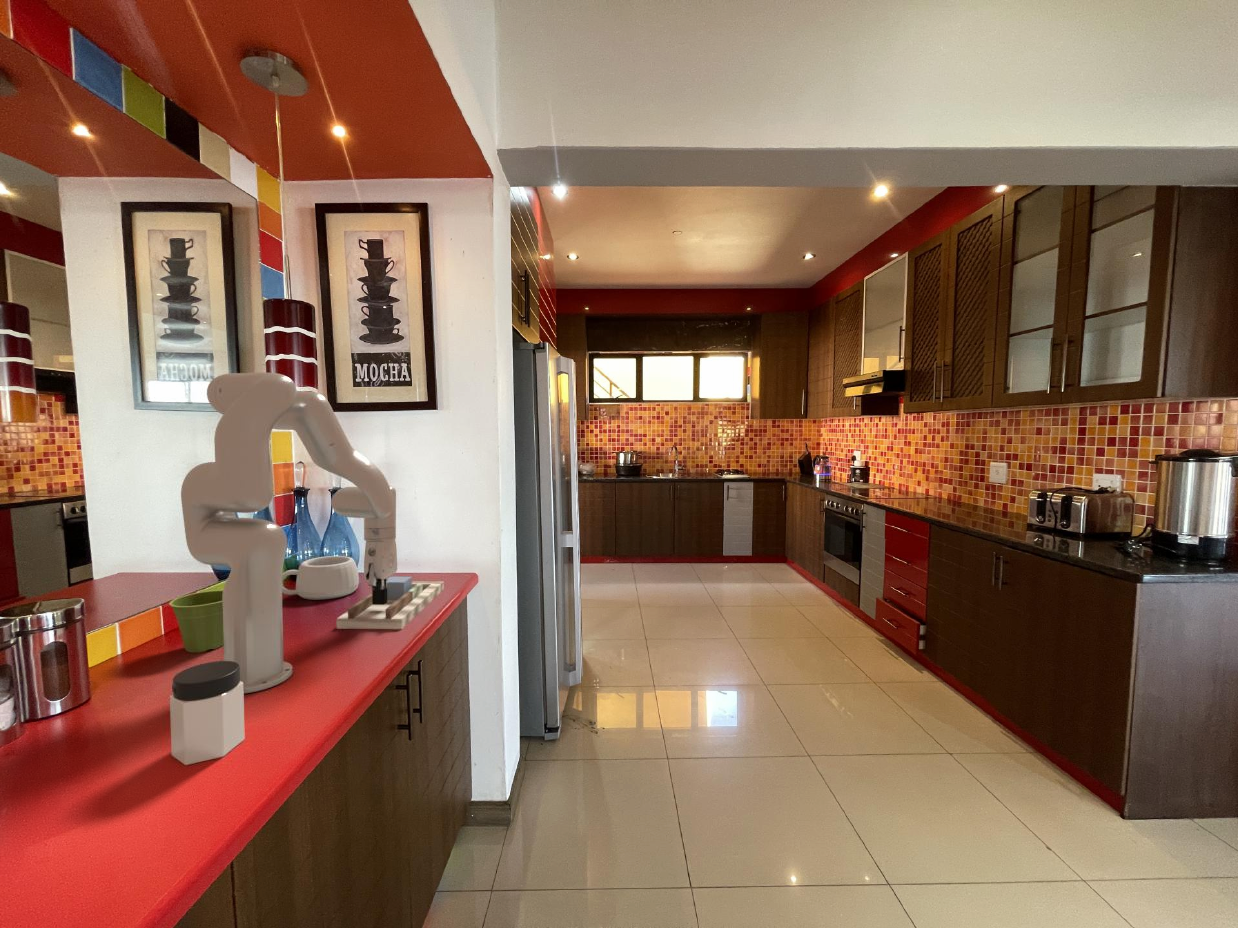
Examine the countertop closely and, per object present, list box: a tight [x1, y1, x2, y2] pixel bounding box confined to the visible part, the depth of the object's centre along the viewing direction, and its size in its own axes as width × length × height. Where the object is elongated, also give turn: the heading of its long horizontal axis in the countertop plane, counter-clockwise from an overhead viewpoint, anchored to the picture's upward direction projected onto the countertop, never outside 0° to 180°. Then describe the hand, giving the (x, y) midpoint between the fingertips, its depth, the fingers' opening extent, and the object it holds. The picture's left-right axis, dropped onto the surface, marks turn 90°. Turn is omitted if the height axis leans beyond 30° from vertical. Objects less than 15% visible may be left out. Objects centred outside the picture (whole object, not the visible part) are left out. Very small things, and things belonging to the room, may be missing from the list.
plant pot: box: [168, 589, 224, 654], centre depth 119 cm, size 12×12×11 cm
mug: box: [282, 555, 360, 601], centre depth 159 cm, size 21×17×10 cm
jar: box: [169, 660, 246, 766], centre depth 82 cm, size 9×8×12 cm
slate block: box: [385, 576, 413, 600], centre depth 150 cm, size 6×6×5 cm
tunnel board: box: [336, 580, 445, 630], centre depth 149 cm, size 34×16×5 cm, turn 1°
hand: (379, 603), depth 139 cm, fingers closed
